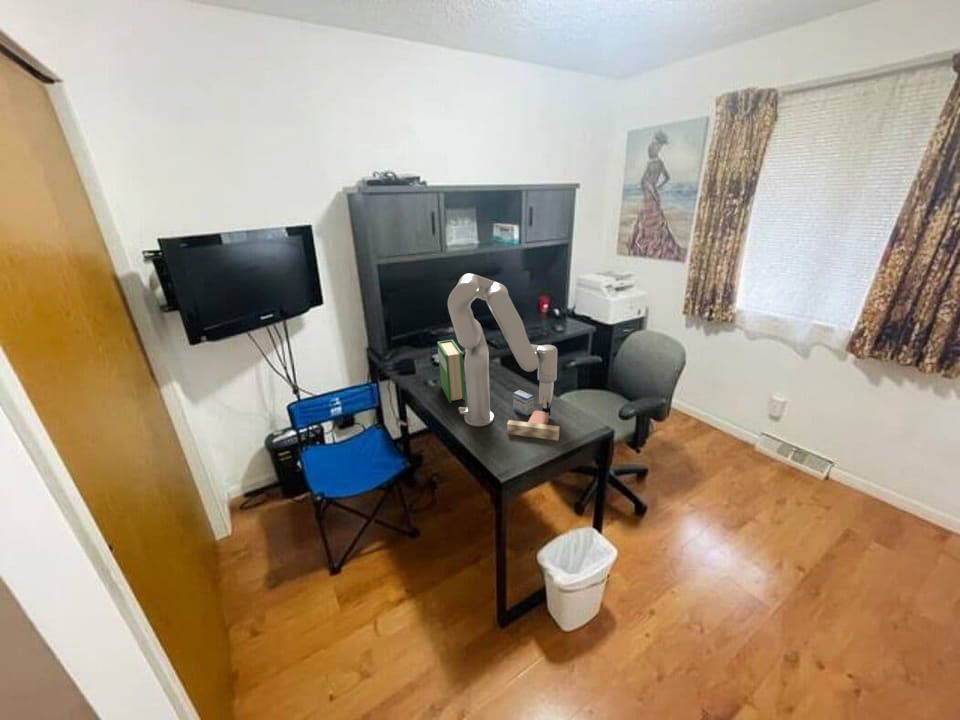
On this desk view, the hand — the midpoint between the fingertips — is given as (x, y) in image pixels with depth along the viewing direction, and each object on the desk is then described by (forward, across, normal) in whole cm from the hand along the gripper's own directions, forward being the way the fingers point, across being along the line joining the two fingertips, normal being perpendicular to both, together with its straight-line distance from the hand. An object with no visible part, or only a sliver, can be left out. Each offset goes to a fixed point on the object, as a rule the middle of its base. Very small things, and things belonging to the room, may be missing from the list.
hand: (546, 414), depth 161 cm
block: (+2, +7, -2) cm, 7 cm away
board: (+2, +14, -4) cm, 14 cm away
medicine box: (+2, -3, -10) cm, 11 cm away
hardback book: (+1, -12, -46) cm, 48 cm away
